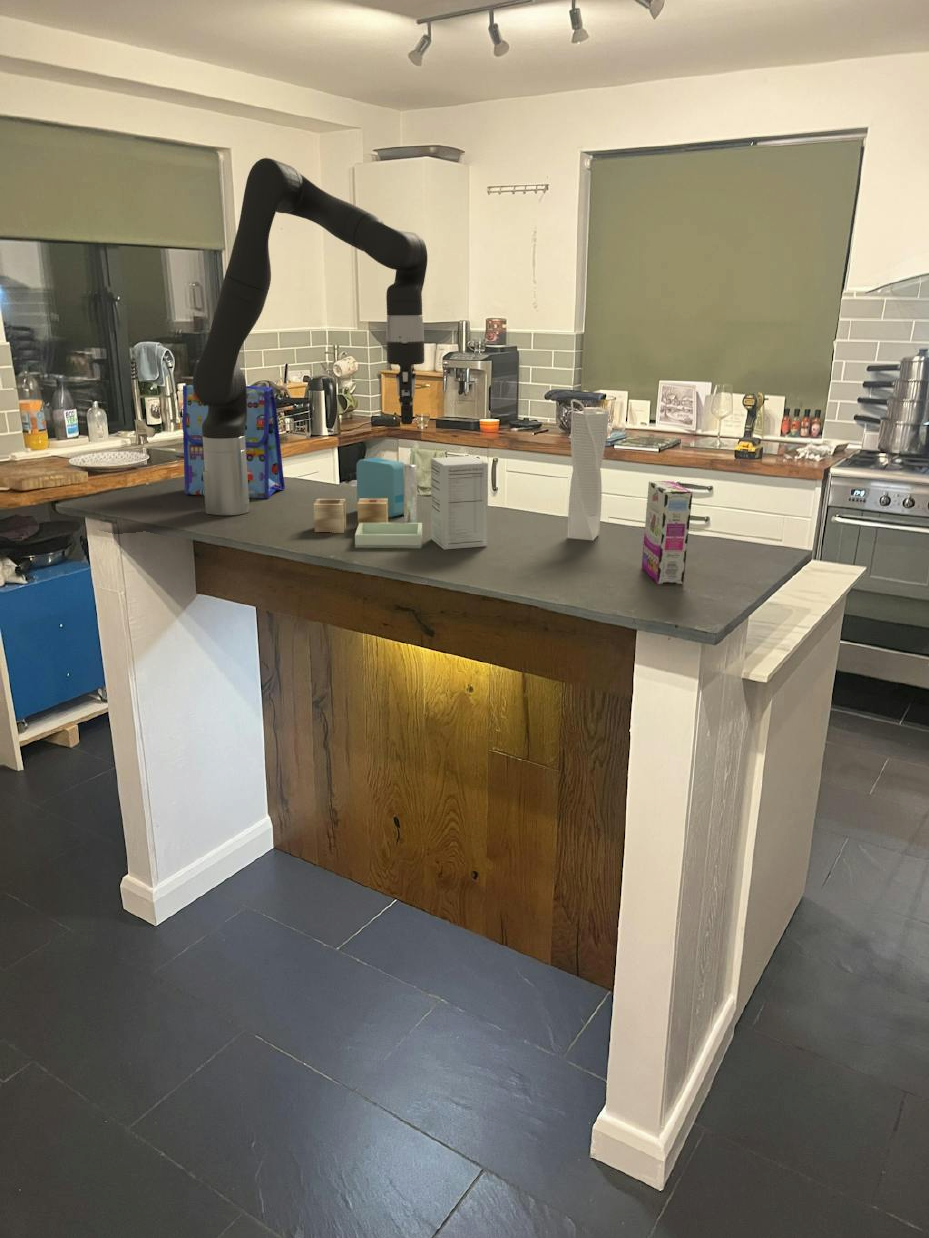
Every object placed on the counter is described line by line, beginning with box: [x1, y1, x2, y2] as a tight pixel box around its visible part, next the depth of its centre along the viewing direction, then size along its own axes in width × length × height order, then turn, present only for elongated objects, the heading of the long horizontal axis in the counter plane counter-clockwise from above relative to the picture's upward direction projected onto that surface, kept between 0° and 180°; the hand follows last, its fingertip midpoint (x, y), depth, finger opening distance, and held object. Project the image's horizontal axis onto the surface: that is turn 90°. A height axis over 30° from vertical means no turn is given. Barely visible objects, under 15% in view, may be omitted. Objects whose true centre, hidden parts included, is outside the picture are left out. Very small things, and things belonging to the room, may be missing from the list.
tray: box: [354, 522, 423, 549], centre depth 189 cm, size 13×11×3 cm
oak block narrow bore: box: [357, 498, 389, 526], centre depth 199 cm, size 6×6×6 cm
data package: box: [355, 457, 405, 518], centre depth 213 cm, size 12×4×12 cm, turn 50°
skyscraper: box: [567, 398, 609, 541], centre depth 191 cm, size 8×8×28 cm
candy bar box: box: [641, 480, 694, 586], centre depth 165 cm, size 11×5×16 cm, turn 5°
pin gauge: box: [403, 463, 418, 523], centre depth 196 cm, size 3×3×14 cm
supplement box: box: [430, 455, 489, 551], centre depth 186 cm, size 10×9×17 cm
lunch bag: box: [181, 384, 286, 499], centre depth 231 cm, size 22×14×29 cm, turn 82°
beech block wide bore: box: [313, 498, 347, 534], centre depth 198 cm, size 6×6×6 cm
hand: (407, 421), depth 192 cm, fingers open, 8 cm apart
